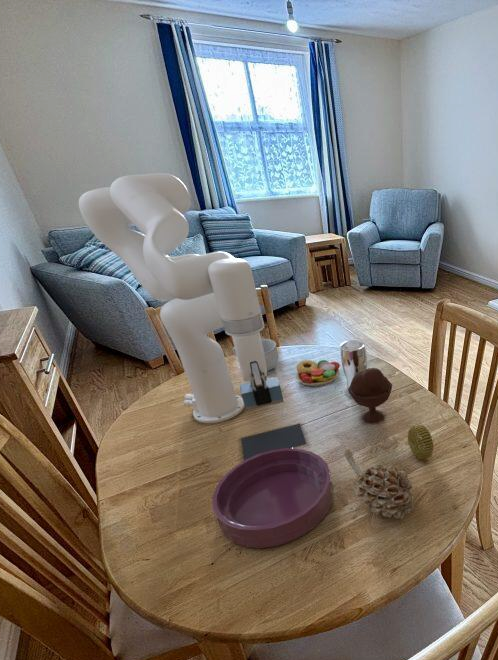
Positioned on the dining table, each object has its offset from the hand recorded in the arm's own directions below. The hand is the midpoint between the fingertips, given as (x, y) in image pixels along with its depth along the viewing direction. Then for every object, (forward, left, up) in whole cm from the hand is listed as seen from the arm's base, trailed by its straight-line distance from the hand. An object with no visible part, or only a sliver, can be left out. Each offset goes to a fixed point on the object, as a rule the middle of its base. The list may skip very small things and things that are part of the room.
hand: (262, 397), depth 93 cm
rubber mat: (0, 0, -13) cm, 13 cm away
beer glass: (+15, +24, -13) cm, 31 cm away
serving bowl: (+9, -19, -13) cm, 25 cm away
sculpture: (+36, -2, -13) cm, 38 cm away
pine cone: (+28, -16, -13) cm, 34 cm away
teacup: (-20, +36, -13) cm, 43 cm away
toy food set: (+1, +32, -13) cm, 35 cm away
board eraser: (0, 0, -1) cm, 1 cm away
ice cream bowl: (+22, +12, -13) cm, 28 cm away
